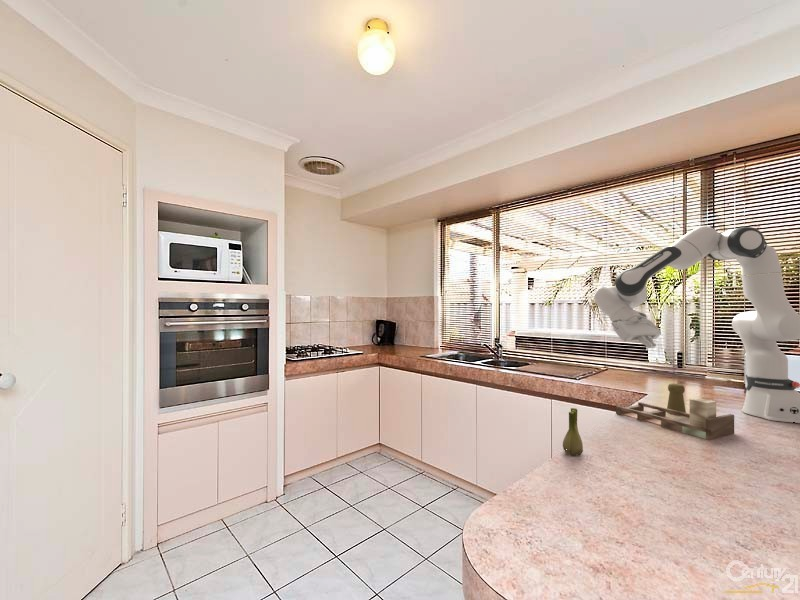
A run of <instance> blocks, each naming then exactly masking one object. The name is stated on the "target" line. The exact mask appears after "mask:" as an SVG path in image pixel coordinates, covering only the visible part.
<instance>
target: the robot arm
mask: <svg viewBox="0 0 800 600" xmlns="http://www.w3.org/2000/svg"><path fill="white" fill-rule="evenodd" d="M705 257H708V258H710V259H712V260H714V261H722V262H723V261H726V260H727V261H729V260H736V261H737V262H738V263H739V265H740V272H741V273H740V274H741V282H742V283H741V284H742V291H743V296H744V297H745V298H746V299H747V300H748V301H749V302H750V303H751V304H752V306H753V308H754V309H755V310H749V311H748V310H747V311H743V312H740V313H738V314H736V315H735V316H734V317H733V318H732V321H731V328H732V330H733V331H734V332H735V334H737V336H739V338H740V340H741V342H742V345H743V347H744V349H745V353H746V355H745V356H746V367H747V368H746V369H747V373H746V375H745V379H744V381H745V382H744V384H745V389H746V393H745V399H744V403H743V407H742V409H741V412H742V413H745V414H747V415H750V416H754V417H759V418H762V419H765V420H769V421H774V422H785V423H793V422H795V424H796V423H797V424H800V392H799V391H798V390H796V389H799V388H800V383H799V382H798V381H794V380H791V379H790V378H789V359H788V357H787V355H786V354H785V353H784V352H783V351H782V350H781V349H780V347H779V346H778V343H777V342H789V341H790V342H791V341H797V340H800V314H799V313H798V312H797V311H796V310H795V308H793V307H792V305H791V303H790V301H789V300H788V298H787V295H786V293H785V288H784V280H783V274H782V273H783V272H782V267H781V261H780V259H779V255H778V253H777V250H776V249H775V248H774V247H773V246H771V245H769V244H768V243H767V241H766V239H765V235H764V234H763V233H762V231H760V230H759V229H758V228H755V227H751V226H742V227H737V228H733V229H729V230H726V231H724V232H721V233H720V232H718V231H717V230H716V229H715V228H713V227H710V226H707V225H703V226H702V225H701V226H698V227H696V228H694V229H692V230H691V231H688V232H687V233H686V234H684V235H683V236H681V237H680V238H678V239H677V240H676V241H674V242H673V243H671V244H670V245H668V246H666V247H664V248H662V249H660V250H658V251H657V252H656V253H654V254H652V255H651V256H649V257H647V258H646V259H645V260H643V261H641V262H640V263H638V264H637V265H635V266H632V267H630V268H627V269H624V270H622V271H621V272H619V273H618V274H617V275H616V277H615V279H614V285H613V286H607V285H604V286H602V287H601V288H599V289H598V290H597V291H596V292H595V294H594V299H593V300H594V302H595V304H596V306H597V307H598V308H599V309H600V311H601V312H603V313H602V314H604V315H606V316H607V317H608V318H609V320H610V324H611V326H612V327H613V331H614V332H615V334H616V335H617V336H618V337H619V339H620V340H622V341H623V342H633V341H638V342H639V343H641V345H642V344H643V345H644V346H646V348H647V349H655V348H656V347H657V344H656V342H655V341H654V340H656V339H658V338H659V337H660V336H661V335H662V331H661V330H660V328H658V326H657V325H656V324H655V323H654V322H653V321H652V320H651V319H648V317H649V316H648V315H647V314H646V313H643V312H640V311H638V310H635V309H634V308H637V307H639V306H641V305H643V304H644V303H645V302H646V301H647V298H648V291H647V283H648V281H649V279H651V278H652V277H653V276H655V275H656V274H658V273H659V272H660V271H662V270H664V269H666V268H668V267H671V268H672V269H674V270H680V271H681V270H683V271H684V270H688V269H689V268H691V267H693V266H695V265H696V264H697V263H698V262H700V261H701V260H703V259H704V258H705Z"/></svg>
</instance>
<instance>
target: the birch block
mask: <svg viewBox="0 0 800 600" xmlns="http://www.w3.org/2000/svg"><path fill="white" fill-rule="evenodd" d="M689 414H690V424H692V425H696V426H700V427H704V428H706V419H708V418H713V417H717V401H715V400H711V399H705V398H701V397H695V398H690V399H689Z"/></svg>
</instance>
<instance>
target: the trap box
mask: <svg viewBox="0 0 800 600" xmlns="http://www.w3.org/2000/svg"><path fill="white" fill-rule="evenodd" d="M645 408H649V409H653V411H646V410H644V409H645ZM667 412H669V413H668V414H670V413H673V414H672V415H674V414H677V415H676V417H670V416H667ZM615 415H619V416H626V417H628V418H632V419H635V420H637V421H639V420H640V422H647V423H650V424H654V425H657V426H660V428H661V427H662V428H665V429H669V430H673V431H676V432H679V433H683V434H687V435H690V436H694V437H698V438H702V439H705V440H708V441H711V440H714V439H715V440H716V439H720V438H722V437H726V436H727V437H728V436H732V435H735V414H733V413H729V414H725V415H724V414H723V415H719V416H716V417H713V418H708V419H706V428H704V427H700V426H696V425H692V424H690V413H689V412H686V413H684V412H680V411H675V410H671V409H667V408H665V407H661V406H657V405H653V404H650V403H645V402H637V404H636V405H630V406H629V405H628V406H625V407H624V406H620V405H615ZM677 416H678V417H677Z"/></svg>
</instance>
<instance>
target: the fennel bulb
mask: <svg viewBox="0 0 800 600" xmlns="http://www.w3.org/2000/svg"><path fill="white" fill-rule="evenodd" d="M579 432H580V431H579V429H578V408H576V407H575V408H574V407H573V408H570V411H569V412H568V430H567V432H566V434H565V435H564V438H563V441H562V448H563V451H564V450H565V451H564V452H565V453H566V454H568V455H570V456H580V455H582V454H583V452H584V447H583V440H582V437H581V435H580V433H579ZM566 449H567V450H566Z"/></svg>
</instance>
